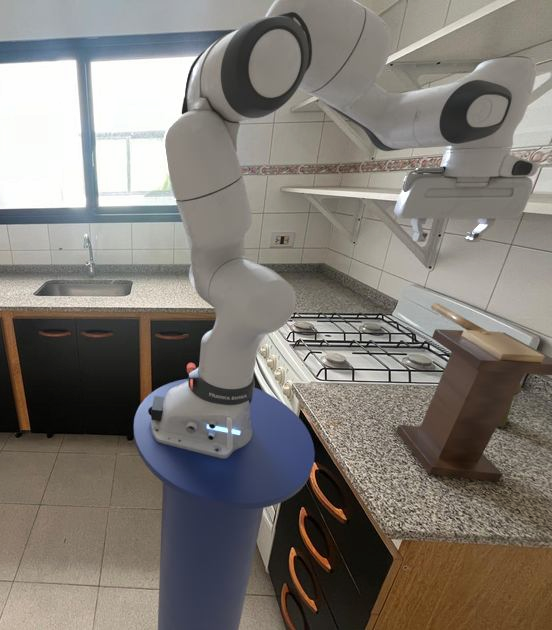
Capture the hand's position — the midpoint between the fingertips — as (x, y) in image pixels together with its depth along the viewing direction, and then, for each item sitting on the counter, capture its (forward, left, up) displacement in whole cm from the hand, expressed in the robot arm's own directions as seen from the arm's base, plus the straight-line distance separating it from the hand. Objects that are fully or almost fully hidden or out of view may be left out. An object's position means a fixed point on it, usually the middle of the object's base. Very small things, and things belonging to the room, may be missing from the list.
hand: (444, 241), depth 69 cm
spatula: (+4, -8, -16) cm, 18 cm away
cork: (+22, 0, -42) cm, 47 cm away
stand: (+4, -14, -42) cm, 44 cm away
